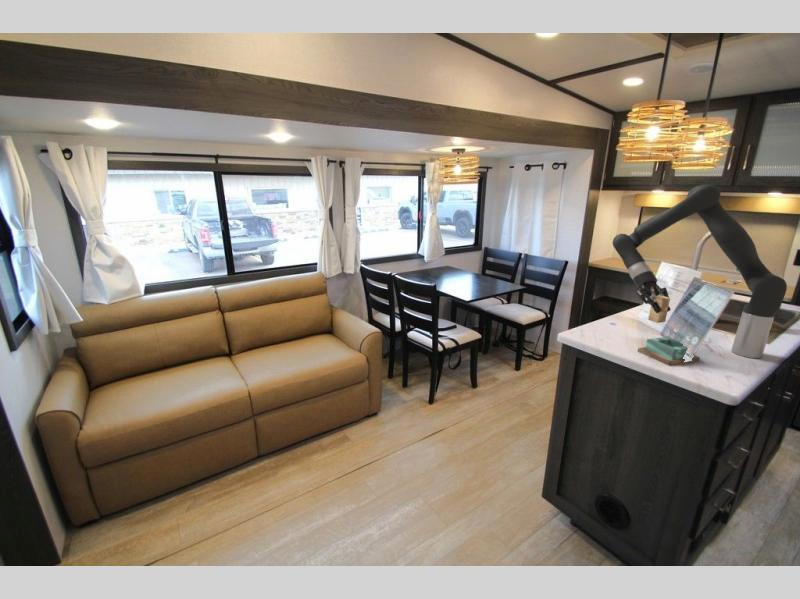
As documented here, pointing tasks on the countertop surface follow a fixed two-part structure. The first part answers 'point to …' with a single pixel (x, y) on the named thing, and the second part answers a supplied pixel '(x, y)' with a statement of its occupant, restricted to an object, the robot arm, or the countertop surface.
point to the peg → (663, 304)
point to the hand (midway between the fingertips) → (663, 311)
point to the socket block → (666, 350)
